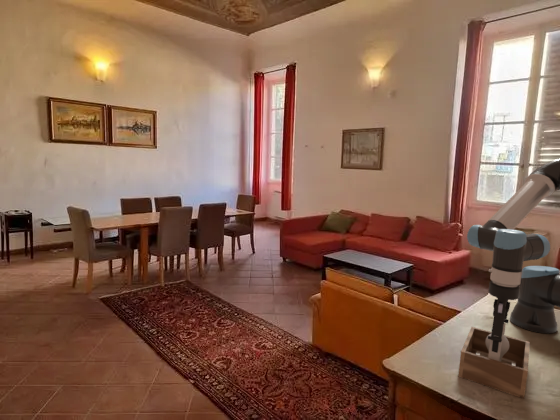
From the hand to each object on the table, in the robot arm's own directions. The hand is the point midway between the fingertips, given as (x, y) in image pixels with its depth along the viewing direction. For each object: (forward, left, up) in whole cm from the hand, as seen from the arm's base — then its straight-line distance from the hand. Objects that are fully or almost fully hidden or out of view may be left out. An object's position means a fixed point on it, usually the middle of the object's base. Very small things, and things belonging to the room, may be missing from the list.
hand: (495, 351), depth 109 cm
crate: (0, 0, -6) cm, 6 cm away
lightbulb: (0, 0, -6) cm, 6 cm away
